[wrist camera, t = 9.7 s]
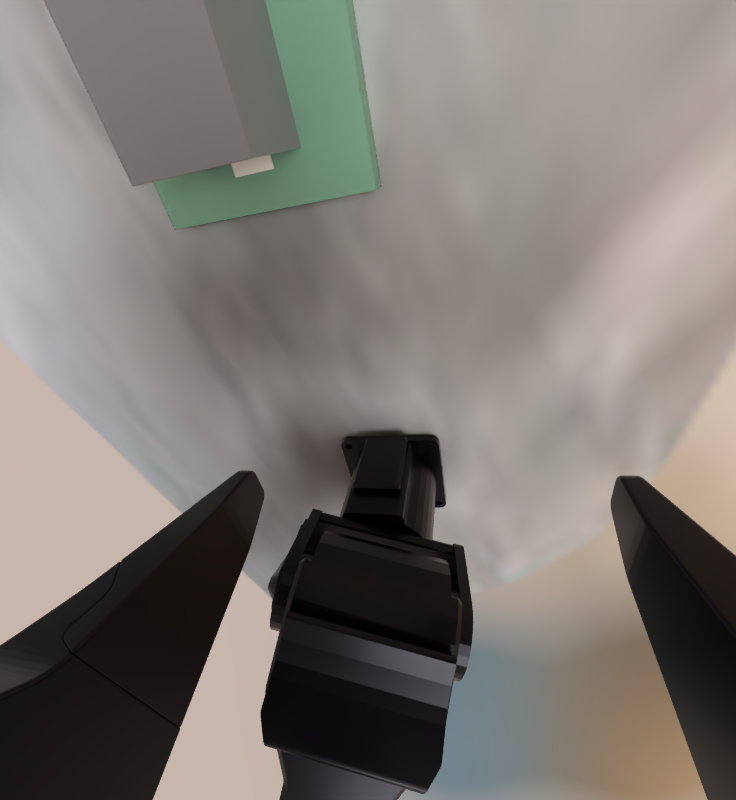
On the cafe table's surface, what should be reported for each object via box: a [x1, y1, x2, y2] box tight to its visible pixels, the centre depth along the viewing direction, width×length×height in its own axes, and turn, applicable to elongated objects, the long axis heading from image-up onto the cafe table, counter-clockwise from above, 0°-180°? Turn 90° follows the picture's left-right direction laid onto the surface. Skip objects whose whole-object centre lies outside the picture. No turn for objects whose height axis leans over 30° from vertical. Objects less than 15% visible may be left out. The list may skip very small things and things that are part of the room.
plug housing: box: [44, 0, 301, 186], centre depth 12 cm, size 7×5×5 cm, turn 12°
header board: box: [154, 0, 381, 230], centre depth 13 cm, size 11×10×3 cm
